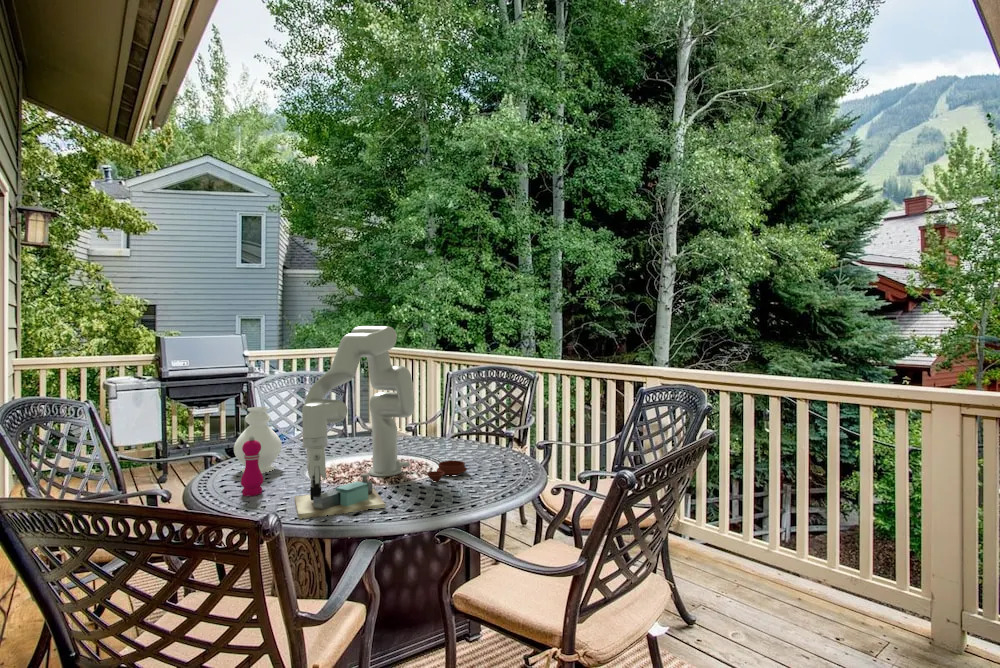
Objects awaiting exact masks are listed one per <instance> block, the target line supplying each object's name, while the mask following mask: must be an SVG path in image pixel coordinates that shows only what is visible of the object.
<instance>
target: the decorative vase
mask: <svg viewBox="0 0 1000 668" xmlns="http://www.w3.org/2000/svg"><path fill="white" fill-rule="evenodd" d="M267 410H269V409H268V406H255V407H254V406H253V407H248V408H247V410H246V411H247V412H249V413H248V414H246V416H245V417H244V421H245V422H246V424H248V426H247V427H246V428H245V429H244V430H243V431H242V433H241V434H240V435H239V436H238V437H237V438H236V441H235V443H234V445H233V453H234V456H235V457H236V458H237V460H238V461H239V462H240V463H241V464H242V465H243V466H244V468H242V469H241V470H240V471H242V472H244V471H245V467H246V461H245V459H244V455H245V453H244V452H243V450H242V447H243V445H244V443H245V442H247V441H250V440H249V437H250V436H254V440H256V441H258V442H259V443H260V444H261V450H260V452H259V454H260V455H259V457H260V458H259V459H258V465H259V469H260V471H261V473H262V474H265V472H267V473H270V472H269V471H271V472H273V471H275V470H274V469H276V467H275V466H274V465H273V463H274V461H275V460H276V459H277V458H278V456H279V455H280V453H281V451H282V448H283V447H282V446H283V444H282V440H281V439H280V437H279V435H278V434H277V433H276V432H275V431H274V430H273V428H271V427H270V426H269V425H267V424H268V422H269V421H270V420H271V415H270V414H269V413H268V412H267ZM272 470H273V471H272ZM242 472H241V473H242Z"/></svg>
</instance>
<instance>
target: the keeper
mask: <svg viewBox="0 0 1000 668" xmlns="http://www.w3.org/2000/svg"><path fill="white" fill-rule="evenodd" d="M335 490H336V491H339V492H340V505H343V506H350V505H353V504H355V503H358V502H361V501H364V500H367V499H368V483H363V482H360V481H358V480H357V481H354V482H350V483H347V484H343V485H340V486H338V487H335Z"/></svg>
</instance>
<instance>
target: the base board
mask: <svg viewBox="0 0 1000 668" xmlns="http://www.w3.org/2000/svg"><path fill="white" fill-rule="evenodd" d="M369 477H370V474H369V473H362V474H361V473H360V478H361V481H362V482H363V483H366V482H367V481H368V478H369ZM323 493H324V492H323ZM323 493H322V492H321V494H323ZM294 504H295V509H296V513H297V514H296V515H297V518H299V519H298V520H302V518H304V519H311V518H310V517H312V518H318V517H317V516H320V517H328V516H335V514H336V515H342V513H344V514H349V513H348V512H353V513H356V512H355V511H361V510H368V509H375V508H383V507H385V508H386V503H385V501H384V500H383V498H382V497H381V496H380V494H379V493H378V492H377V490H376V488H374V487H373V493H372V494H369V495H368V499H367V500H364V501H361V502H358V503H355V504H353V505H350V506H343V505H340V504H338V505H335V506H332V507H330V508H327V509H324V510H320V509H316V508H313V500H311V498H310V494H305V495H304V494H303V495H296V496H294ZM361 512H362V511H361ZM327 515H328V516H327Z"/></svg>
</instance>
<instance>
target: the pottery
mask: <svg viewBox="0 0 1000 668" xmlns="http://www.w3.org/2000/svg"><path fill="white" fill-rule="evenodd" d="M465 464H466V463H465V462H464V461H461V460H445V461H441V462H439V463H438V467H437V469H436V470H434V471H429V472H427V473H426V474H427V476H428V478H429V479H430V480H431V481H432V480H433V481H439V480H441V479H442V478H443V477H444V476H445V475H449V476H448V477H453V476H452V475H458V474H460V475H461V473H465V472H466V471H468V468H467V467H466V465H465ZM444 474H445V475H444ZM458 476H459V475H458ZM439 482H440V481H439Z"/></svg>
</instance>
